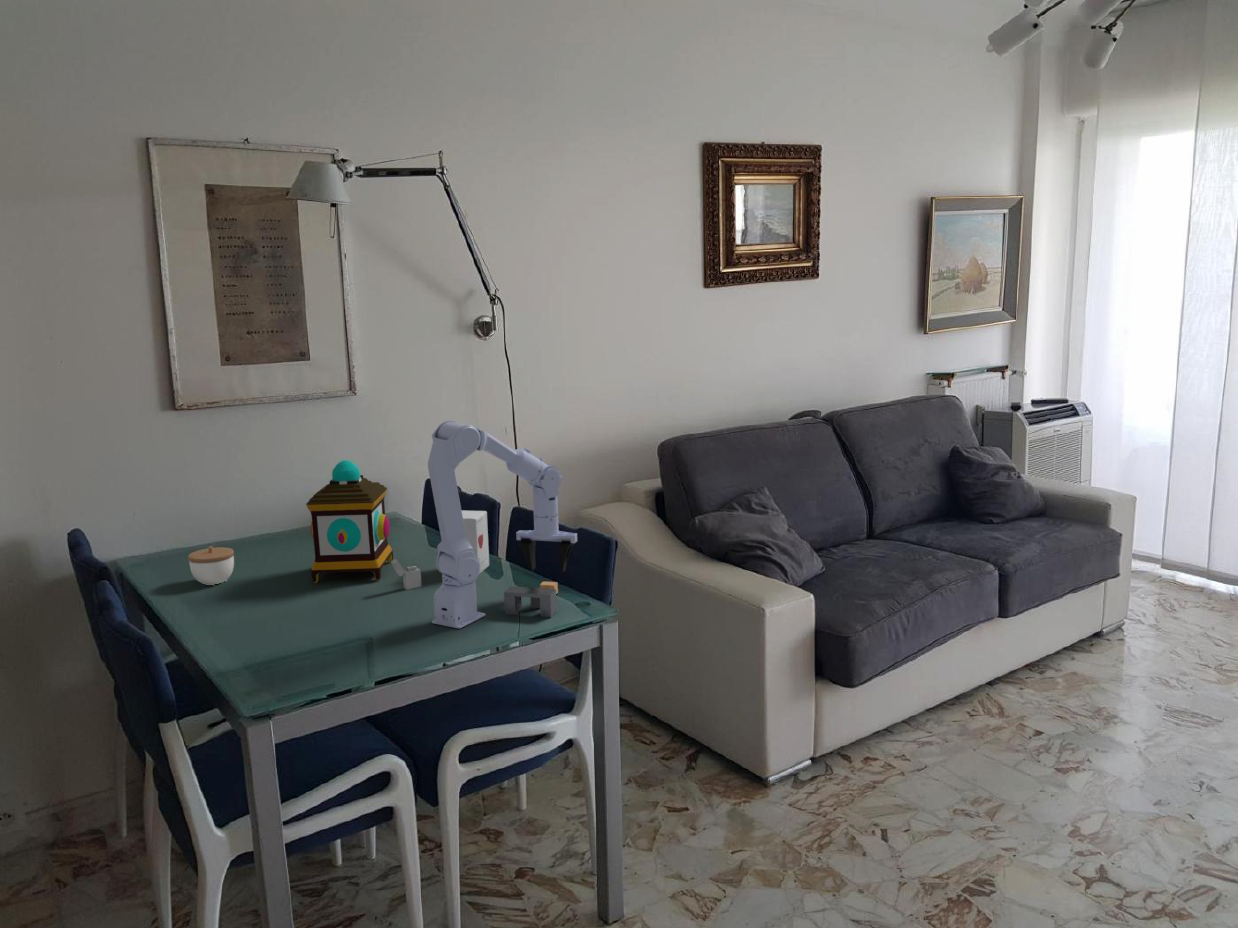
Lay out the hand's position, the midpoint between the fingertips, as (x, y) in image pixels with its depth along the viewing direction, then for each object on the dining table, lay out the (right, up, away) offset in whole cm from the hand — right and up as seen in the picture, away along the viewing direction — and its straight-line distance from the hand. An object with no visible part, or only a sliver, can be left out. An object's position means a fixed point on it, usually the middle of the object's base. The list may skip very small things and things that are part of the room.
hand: (547, 570), depth 226 cm
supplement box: (-22, -3, +23) cm, 32 cm away
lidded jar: (-87, -5, +18) cm, 89 cm away
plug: (-1, -7, -3) cm, 7 cm away
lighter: (-35, -6, +9) cm, 37 cm away
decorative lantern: (-52, -3, +23) cm, 58 cm away
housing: (-3, -9, -11) cm, 14 cm away
